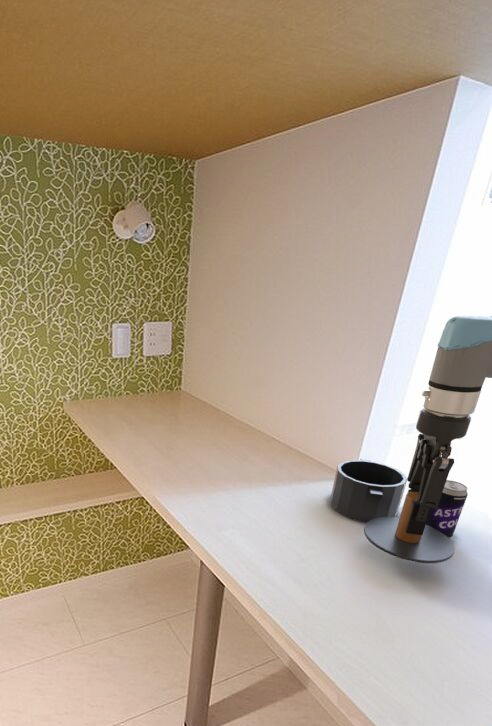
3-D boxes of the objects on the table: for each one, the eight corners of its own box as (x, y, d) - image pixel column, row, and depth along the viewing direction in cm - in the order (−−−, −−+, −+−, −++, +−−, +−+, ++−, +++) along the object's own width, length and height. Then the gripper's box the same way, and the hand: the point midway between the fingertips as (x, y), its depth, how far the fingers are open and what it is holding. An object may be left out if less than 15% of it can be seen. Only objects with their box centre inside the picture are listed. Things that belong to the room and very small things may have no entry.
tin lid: (440, 528, 91) (454, 484, 87) (463, 573, 78) (482, 524, 73) (359, 516, 95) (369, 474, 91) (368, 557, 82) (380, 510, 78)
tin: (388, 494, 112) (397, 460, 108) (404, 534, 95) (416, 496, 91) (328, 485, 116) (334, 453, 112) (332, 523, 99) (341, 486, 95)
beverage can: (423, 537, 94) (440, 488, 89) (419, 524, 99) (434, 477, 94) (454, 543, 92) (473, 493, 87) (448, 530, 97) (465, 481, 92)
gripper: (410, 396, 84) (382, 502, 94) (434, 424, 69) (397, 547, 79) (455, 400, 81) (421, 508, 91) (490, 429, 66) (445, 555, 76)
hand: (410, 526), depth 85 cm, fingers closed on tin lid, 4 cm apart
